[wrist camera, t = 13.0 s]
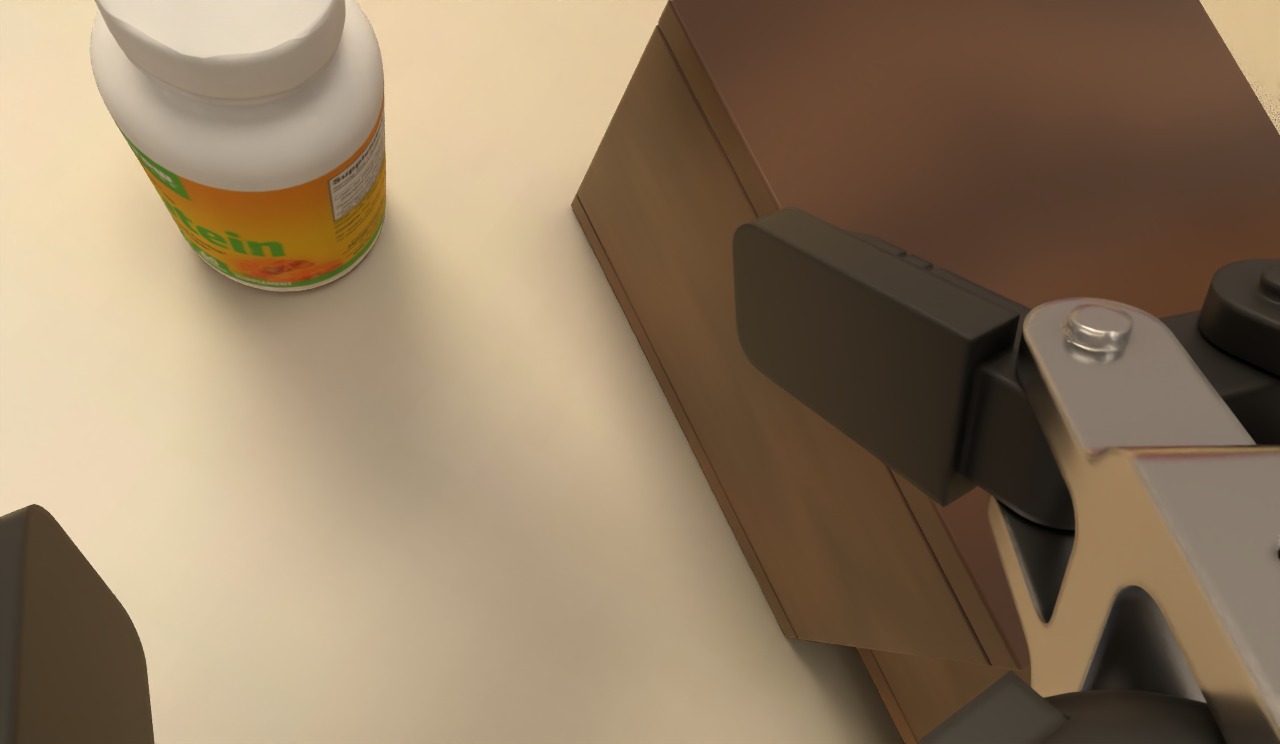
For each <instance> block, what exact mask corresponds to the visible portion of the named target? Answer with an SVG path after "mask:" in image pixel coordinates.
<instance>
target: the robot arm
mask: <svg viewBox="0 0 1280 744" xmlns="http://www.w3.org/2000/svg"><path fill="white" fill-rule="evenodd" d="M732 251H733V271H734V292H735V312H736V329H737V335H738V339H739V342H740V345H741V347H742V349H743V351H744V353H745V355H746V357H747V358H748V360H749V361H750V362H751V364H752V365H753V366H754V367H755V368H756V369H757V370H758V371H759V372H761V373H762V374H763V375H765V376H766V377H767V378H769V379H770V380H771V381H773V382H774V383H776V384H777V385H778V386H780V387H781V388H782V389H784V390H785V391H786V392H788V393H789V394H790V395H792V396H793V397H795V398H796V399H797V400H799V401H800V402H801V403H803V404H804V405H805V406H807V407H808V408H809V409H811V410H812V411H814V412H815V413H816V414H818V415H819V416H820V417H822V418H823V419H824V420H826V421H827V422H828V423H830V424H831V425H832V426H834V427H835V428H837V429H838V430H839V431H841V432H842V433H843V434H845V435H846V436H847V437H849V438H850V439H851V440H853V441H854V442H856V443H857V444H858V445H860V446H861V447H862V448H864V449H865V450H866V451H868V452H869V453H870V454H872V455H873V456H875V457H876V458H877V459H879V460H880V461H881V462H883V463H884V464H885V465H887V466H888V467H889V468H891V469H892V470H894V471H895V472H896V473H898V474H899V475H900V476H902V477H903V478H904V479H906V480H907V481H908V482H910V483H911V484H912V485H914V486H915V487H917V488H918V489H919V490H921V491H922V492H923V493H925V494H926V495H927V496H929V497H930V498H931V499H933V500H934V501H936V502H937V503H938V504H940V505H941V506H942V507H946V506H947V505H949V504H950V503H952V502H953V501H955V500H957V499H958V498H960V497H961V496H963V495H965V494H966V493H968V492H969V491H971V490H973V489H974V488H976V487H977V486H979V487H980V488H982V489H983V490H985V491H986V492H987V493H989V496H988V501H987V506H986V515H987V520H988V523H989V526H990V529H991V532H992V535H993V538H994V541H995V545H996V548H997V551H998V554H999V557H1000V560H1001V563H1002V566H1003V569H1004V573H1005V576H1006V579H1007V582H1008V585H1009V588H1010V591H1011V594H1012V597H1013V601H1014V604H1015V607H1016V610H1017V613H1018V616H1019V619H1020V622H1021V625H1022V629H1023V632H1024V635H1025V638H1026V641H1027V645H1028V649H1029V655H1030V663H1031V687H1030V686H1029V685H1028V684H1027V683H1025V682H1024V681H1023V680H1022V679H1021V678H1020V677H1018V676H1017V675H1016V674H1015V673H1014V672H1013V671H1009V672H1008V673H1007V674H1005V675H1004V676H1003V677H1001V678H1000V679H999V680H997V681H996V682H995V683H994V684H992V685H991V686H990V687H988V688H987V689H986V690H984V691H983V692H982V693H980V694H979V695H978V696H976V697H975V698H974V699H972V700H971V701H970V702H969V703H967V704H966V705H965V706H963V707H962V708H961V709H959V710H958V711H957V712H955V713H954V714H953V715H951V716H950V717H949V718H947V719H946V720H945V721H944V722H942V723H941V724H940V725H938V726H937V727H936V728H934V729H933V730H932V731H930V732H929V733H928V734H926V735H925V736H924V737H922V738H921V739H920V741H919V742H918V743H917V744H1280V259H1249V260H1241V261H1237V262H1232V263H1230V264H1227V265H1224V266H1223V267H1221V268H1219V269H1218V270H1217V271H1216V272H1215V273H1214V275H1213V278H1212V280H1211V283H1210V286H1209V289H1208V292H1207V294H1206V297H1205V300H1204V303H1203V306H1202V309H1200V310H1196V311H1191V312H1186V313H1182V314H1177V315H1173V316H1168V317H1163V318H1159V319H1158V318H1156V317H1155V316H1153V315H1151V314H1149V313H1148V312H1146V311H1143V310H1141V309H1139V308H1137V307H1134V306H1131V305H1128V304H1125V303H1121V302H1117V301H1113V300H1107V299H1101V298H1090V297H1072V298H1062V299H1057V300H1052V301H1049V302H1046V303H1043V304H1041V305H1039V306H1037V307H1035V308H1034V309H1033V310H1032V309H1030V308H1028V307H1026V306H1024V305H1022V304H1019V303H1017V302H1015V301H1013V300H1011V299H1009V298H1007V297H1004V296H1002V295H1000V294H998V293H996V292H994V291H992V290H989V289H987V288H985V287H983V286H981V285H979V284H977V283H974V282H972V281H970V280H968V279H966V278H964V277H961V276H959V275H957V274H955V273H953V272H951V271H949V270H946V269H944V268H942V267H940V266H939V267H937V268H934V266H933V263H931V262H929V261H927V260H925V259H923V258H921V257H919V256H916V255H914V254H911V255H909V256H908V255H907V252H906V250H903V249H901V248H899V247H897V246H895V245H893V244H891V243H888V242H886V241H884V240H882V239H880V238H878V237H876V236H872V235H867V234H863V233H858V232H853V231H848V230H843V229H840V228H838V227H836V226H834V225H832V224H830V223H828V222H826V221H824V220H822V219H819V218H817V217H815V216H813V215H811V214H809V213H807V212H805V211H803V210H801V209H798V208H795V207H786V208H783V209H781V210H778V211H776V212H773V213H771V214H768V215H766V216H763V217H761V218H758V219H756V220H753V221H751V222H748V223H746V224H743V225H741V226H739V227H738V228H737V230H736V231H735V234H734V237H733V242H732ZM0 744H154V735H153V725H152V715H151V705H150V695H149V685H148V676H147V666H146V659H145V655H144V651H143V647H142V644H141V641H140V638H139V636H138V633H137V631H136V629H135V627H134V625H133V622H132V621H131V619H130V617H129V615H128V613H127V612H126V610H125V609H124V607H123V606H122V604H121V603H120V602H119V600H118V599H117V598H116V596H115V595H114V594H113V593H112V591H111V590H110V589H109V588H108V586H107V585H106V584H105V582H104V581H103V580H102V579H101V577H100V576H99V575H98V573H97V572H96V571H95V570H94V568H93V567H92V566H91V564H90V563H89V562H88V561H87V559H86V558H85V557H84V555H83V554H82V553H81V552H80V550H79V549H78V548H77V546H76V545H75V544H74V543H73V541H72V540H71V539H70V537H69V536H68V535H67V534H66V532H65V531H64V530H63V528H62V527H61V526H60V525H59V523H58V522H57V521H56V520H55V518H54V517H53V516H52V515H51V514H50V513H49V512H48V511H47V510H45V509H44V508H43V507H41V506H39V505H36V504H33V505H29V506H27V507H24V508H22V509H19V510H17V511H14V512H12V513H9V514H7V515H4V516H2V517H0Z"/></svg>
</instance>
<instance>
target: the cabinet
mask: <svg viewBox="0 0 1280 744" xmlns="http://www.w3.org/2000/svg"><path fill="white" fill-rule="evenodd" d="M571 206H572V208H573V210H574V212H575V214H576V216H577V218H578V220H579V222H580V224H581V226H582V228H583V230H584V232H585V234H586V236H587V238H588V240H589V242H590V244H591V246H592V248H593V250H594V252H595V254H596V256H597V258H598V260H599V262H600V264H601V266H602V268H603V270H604V272H605V274H606V276H607V278H608V280H609V282H610V284H611V286H612V288H613V290H614V292H615V294H616V296H617V298H618V300H619V302H620V304H621V306H622V308H623V310H624V312H625V314H626V316H627V318H628V320H629V322H630V325H631V327H632V329H633V331H634V333H635V335H636V337H637V339H638V341H639V343H640V345H641V347H642V349H643V351H644V353H645V355H646V357H647V359H648V361H649V363H650V365H651V367H652V369H653V371H654V373H655V375H656V377H657V379H658V381H659V383H660V385H661V387H662V389H663V391H664V393H665V395H666V397H667V399H668V401H669V403H670V405H671V407H672V409H673V411H674V413H675V415H676V417H677V419H678V421H679V423H680V425H681V427H682V429H683V431H684V433H685V435H686V437H687V439H688V441H689V443H690V445H691V447H692V449H693V451H694V453H695V455H696V457H697V459H698V461H699V463H700V465H701V467H702V469H703V471H704V473H705V475H706V478H707V480H708V482H709V484H710V486H711V488H712V490H713V492H714V494H715V496H716V498H717V500H718V502H719V504H720V506H721V508H722V510H723V512H724V514H725V516H726V518H727V520H728V522H729V524H730V526H731V528H732V530H733V532H734V534H735V536H736V538H737V540H738V542H739V544H740V546H741V548H742V550H743V552H744V554H745V556H746V558H747V560H748V562H749V564H750V566H751V568H752V570H753V572H754V574H755V576H756V578H757V580H758V582H759V584H760V586H761V588H762V590H763V592H764V594H765V596H766V598H767V600H768V602H769V604H770V606H771V608H772V610H773V612H774V614H775V616H776V618H777V620H778V622H779V624H780V626H781V629H782V631H783V633H784V635H785V636H786V637H788V638H795V639H803V640H810V641H817V642H824V643H831V644H838V645H845V646H851V647H858V648H865V649H872V650H879V651H886V652H893V653H900V654H907V655H914V656H920V657H927V658H934V659H941V660H948V661H955V662H962V663H969V664H976V665H983V666H989V667H990V666H994V667H997V668H1004V669H1011V670H1018V671H1021V670H1024V669H1025V668H1026V667H1028V666H1029V665H1030V664H1031V663H1030V655H1029V649H1028V645H1027V641H1026V638H1025V635H1024V632H1023V629H1022V625H1021V622H1020V619H1019V616H1018V613H1017V610H1016V607H1015V604H1014V601H1013V597H1012V594H1011V591H1010V588H1009V585H1008V582H1007V579H1006V576H1005V573H1004V569H1003V566H1002V563H1001V560H1000V557H999V554H998V551H997V548H996V545H995V541H994V538H993V535H992V532H991V529H990V526H989V523H988V520H987V515H986V506H987V501H988V496H989V493H987V492H986V491H985V490H983V489H982V488H980V487H979V486H977V487H976V488H974V489H973V490H971V491H969V492H968V493H966V494H965V495H963V496H961V497H960V498H958V499H957V500H955V501H953V502H952V503H950V504H949V505H947V506H946V507H942V506H941V505H940V504H938V503H937V502H936V501H934V500H933V499H931V498H930V497H929V496H927V495H926V494H925V493H923V492H922V491H921V490H919V489H918V488H917V487H915V486H914V485H912V484H911V483H910V482H908V481H907V480H906V479H904V478H903V477H902V476H900V475H899V474H898V473H896V472H895V471H894V470H892V469H891V468H889V467H888V466H887V465H885V464H884V463H883V462H881V461H880V460H879V459H877V458H876V457H875V456H873V455H872V454H870V453H869V452H868V451H866V450H865V449H864V448H862V447H861V446H860V445H858V444H857V443H856V442H854V441H853V440H851V439H850V438H849V437H847V436H846V435H845V434H843V433H842V432H841V431H839V430H838V429H837V428H835V427H834V426H832V425H831V424H830V423H828V422H827V421H826V420H824V419H823V418H822V417H820V416H819V415H818V414H816V413H815V412H814V411H812V410H811V409H809V408H808V407H807V406H805V405H804V404H803V403H801V402H800V401H799V400H797V399H796V398H795V397H793V396H792V395H790V394H789V393H788V392H786V391H785V390H784V389H782V388H781V387H780V386H778V385H777V384H776V383H774V382H773V381H771V380H770V379H769V378H767V377H766V376H765V375H763V374H762V373H761V372H759V371H758V370H757V369H756V368H755V367H754V366H753V365H752V364H751V362H750V361H749V360H748V358H747V357H746V355H745V353H744V351H743V349H742V347H741V345H740V342H739V339H738V335H737V329H736V312H735V292H734V271H733V251H732V242H733V237H734V234H735V231H736V230H737V228H738V227H739V226H741V225H743V224H746V223H748V222H751V221H753V220H756V219H758V218H761V217H763V216H766V215H768V214H771V213H773V212H776V211H778V210H781V209H783V208H786V207H795V208H798V209H801V210H803V211H805V212H807V213H809V214H811V215H813V216H815V217H817V218H819V219H822V220H824V221H826V222H828V223H830V224H832V225H834V226H836V227H838V228H840V229H843V230H848V231H853V232H858V233H863V234H867V235H872V236H876V237H878V238H880V239H882V240H884V241H886V242H888V243H891V244H893V245H895V246H897V247H899V248H901V249H903V250H906V252H907V255H908V256H909V255H911V254H914V255H916V256H919V257H921V258H923V259H925V260H927V261H929V262H931V263H933V266H934V268H937V267H939V266H940V267H942V268H944V269H946V270H949V271H951V272H953V273H955V274H957V275H959V276H961V277H964V278H966V279H968V280H970V281H972V282H974V283H977V284H979V285H981V286H983V287H985V288H987V289H989V290H992V291H994V292H996V293H998V294H1000V295H1002V296H1004V297H1007V298H1009V299H1011V300H1013V301H1015V302H1017V303H1019V304H1022V305H1024V306H1026V307H1028V308H1030V309H1032V310H1033V309H1034V308H1035V307H1037V306H1039V305H1041V304H1043V303H1046V302H1049V301H1052V300H1057V299H1062V298H1072V297H1090V298H1101V299H1107V300H1113V301H1117V302H1121V303H1125V304H1128V305H1131V306H1134V307H1137V308H1139V309H1141V310H1143V311H1146V312H1148V313H1149V314H1151V315H1153V316H1155V317H1156V318H1158V319H1159V318H1163V317H1168V316H1173V315H1177V314H1182V313H1186V312H1191V311H1196V310H1200V309H1202V306H1203V303H1204V300H1205V297H1206V294H1207V292H1208V289H1209V286H1210V283H1211V280H1212V278H1213V275H1214V273H1215V272H1216V271H1217V270H1218V269H1219V268H1221V267H1223V266H1224V265H1227V264H1230V263H1232V262H1237V261H1241V260H1249V259H1280V135H1279V133H1278V131H1277V130H1276V128H1275V126H1274V125H1273V123H1272V121H1271V120H1270V118H1269V116H1268V115H1267V113H1266V111H1265V110H1264V108H1263V106H1262V105H1261V103H1260V101H1259V100H1258V98H1257V96H1256V95H1255V93H1254V91H1253V90H1252V88H1251V86H1250V85H1249V83H1248V81H1247V80H1246V78H1245V76H1244V75H1243V73H1242V71H1241V70H1240V68H1239V66H1238V65H1237V63H1236V61H1235V60H1234V58H1233V56H1232V54H1231V53H1230V51H1229V49H1228V48H1227V46H1226V44H1225V43H1224V41H1223V39H1222V38H1221V36H1220V34H1219V33H1218V31H1217V29H1216V28H1215V26H1214V24H1213V23H1212V21H1211V19H1210V18H1209V16H1208V14H1207V13H1206V11H1205V9H1204V8H1203V6H1202V4H1201V3H1200V1H1199V0H669V1H668V2H667V4H666V6H665V9H664V11H663V13H662V15H661V17H660V19H659V21H658V25H657V26H656V27H655V29H654V32H653V34H652V36H651V38H650V40H649V42H648V44H647V46H646V48H645V51H644V53H643V55H642V57H641V59H640V61H639V63H638V65H637V67H636V69H635V72H634V74H633V76H632V78H631V80H630V82H629V84H628V86H627V88H626V91H625V93H624V95H623V97H622V99H621V101H620V103H619V105H618V107H617V109H616V112H615V114H614V116H613V118H612V120H611V122H610V124H609V126H608V128H607V131H606V133H605V135H604V137H603V139H602V141H601V143H600V145H599V147H598V149H597V152H596V154H595V156H594V158H593V160H592V162H591V164H590V166H589V168H588V170H587V173H586V175H585V177H584V179H583V181H582V183H581V185H580V187H579V189H578V192H577V194H576V195H575V197H574V200H573V202H572V204H571Z"/></svg>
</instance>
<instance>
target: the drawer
mask: <svg viewBox="0 0 1280 744" xmlns="http://www.w3.org/2000/svg"><path fill="white" fill-rule="evenodd" d="M856 648H857V650H858V652H859V654H860V656H861V658H862V660H863V662H864V664H865V666H866V668H867V670H868V672H869V674H870V676H871V678H872V680H873V682H874V684H875V686H876V688H877V690H878V692H879V694H880V695H881V697H882V699H883V701H884V703H885V705H886V707H887V709H888V711H889V713H890V715H891V717H892V719H893V721H894V723H895V725H896V727H897V729H898V731H899V733H900V735H901V737H902V739H903V741H904V743H905V744H917V743H918V742H919V741H920V739H921V738H922V737H924V736H925V735H926V734H928V733H929V732H930V731H932V730H933V729H934V728H936V727H937V726H938V725H940V724H941V723H942V722H944V721H945V720H946V719H947V718H949V717H950V716H951V715H953V714H954V713H955V712H957V711H958V710H959V709H961V708H962V707H963V706H965V705H966V704H967V703H969V702H970V701H971V700H972V699H974V698H975V697H976V696H978V695H979V694H980V693H982V692H983V691H984V690H986V689H987V688H988V687H990V686H991V685H992V684H994V683H995V682H996V681H997V680H999V679H1000V678H1001V677H1003V676H1004V675H1005V674H1007V673H1008V672H1009V671H1013V672H1014V673H1015V674H1016V675H1017V676H1018V677H1020V678H1021V679H1022V680H1023V681H1024V682H1025V683H1027V684H1028V685H1029V686H1030V687H1031V664H1030V665H1029V666H1028V667H1026V668H1025V669H1024V670H1021V671H1018V670H1011V669H1004V668H997V667H994V666H990V667H989V666H983V665H976V664H969V663H962V662H955V661H948V660H941V659H934V658H927V657H920V656H914V655H907V654H900V653H893V652H886V651H879V650H872V649H865V648H858V647H856Z"/></svg>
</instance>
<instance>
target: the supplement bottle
mask: <svg viewBox="0 0 1280 744" xmlns="http://www.w3.org/2000/svg"><path fill="white" fill-rule="evenodd" d="M95 2H96V4H97V6H98V10H97V13H96V16H95V18H94V23H93V28H92V33H91V42H90V57H91V64H92V69H93V74H94V77H95V81H96V84H97V87H98V89H99V92H100V94H101V96H102V98H103V100H104V102H105V104H106V106H107V108H108V110H109V112H110V114H111V116H112V118H113V119H114V121H115V123H116V124H117V126H118V128H119V129H120V131H121V133H122V134H123V136H124V137H125V139H126V141H127V142H128V144H129V145H130V147H131V149H132V150H133V152H134V153H135V155H136V157H137V158H138V160H139V162H140V163H141V165H142V167H143V168H144V170H145V172H146V173H147V175H148V177H149V178H150V180H151V182H152V183H153V185H154V186H155V188H156V190H157V192H158V193H159V195H160V197H161V198H162V200H163V202H164V203H165V205H166V207H167V209H168V210H169V212H170V214H171V215H172V217H173V219H174V221H175V222H176V224H177V226H178V227H179V229H180V231H181V233H182V234H183V236H184V237H185V239H186V240H187V241H188V243H189V244H190V246H191V247H192V248H193V249H194V251H195V252H196V253H197V254H198V255H199V256H200V257H201V258H202V259H203V260H204V261H205V262H206V263H207V264H208V265H210V266H211V267H212V268H213V269H215V270H216V271H218V272H219V273H221V274H223V275H224V276H226V277H228V278H230V279H232V280H234V281H236V282H239V283H241V284H244V285H247V286H250V287H254V288H258V289H262V290H268V291H284V292H287V291H301V290H307V289H312V288H316V287H319V286H322V285H325V284H327V283H330V282H332V281H334V280H336V279H338V278H340V277H342V276H343V275H345V274H346V273H348V272H349V271H350V270H352V269H353V268H354V267H355V266H356V265H357V264H359V263H360V262H361V261H362V259H363V258H364V257H365V256H366V255H367V254H368V252H369V251H370V250H371V248H372V247H373V245H374V243H375V242H376V240H377V238H378V236H379V233H380V231H381V228H382V225H383V221H384V214H385V203H386V159H385V117H384V74H383V66H382V59H381V52H380V48H379V45H378V41H377V38H376V36H375V33H374V31H373V28H372V26H371V24H370V22H369V20H368V18H367V16H366V15H365V13H364V11H363V10H362V9H361V7H360V6H359V4H358V3H357V2H356V0H95Z"/></svg>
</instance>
